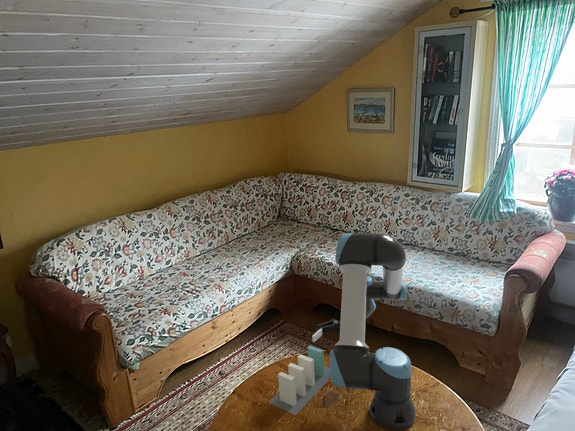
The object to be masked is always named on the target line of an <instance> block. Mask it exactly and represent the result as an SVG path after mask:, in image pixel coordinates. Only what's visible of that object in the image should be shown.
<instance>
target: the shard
mask: <svg viewBox="0 0 575 431" xmlns="http://www.w3.org/2000/svg"><path fill="white" fill-rule="evenodd" d="M342 400H344V398H343V395H342V394H341V393H339V392H338V391H337V390H335V389H334V388H331V389H329V390H328V391H326V392H324V394H323V396H322V408H324V409H329V408H332V407H334V406H335V405H337V404H339V403H340V402H341V401H342Z"/></svg>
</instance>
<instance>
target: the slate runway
mask: <svg viewBox="0 0 575 431" xmlns="http://www.w3.org/2000/svg"><path fill="white" fill-rule="evenodd" d="M330 379H331V373H330V366H329V367H328V366H325V365H324V376H323V377H320V376H318V375H315V385H314V386H313V387H311V386H309V385H306V394H305V395H304V396H301V395H299V394H297V393H296V401H297V404H296V405H295V406H292V405H289V404H287V403H285V402H283V401H281V400H280V392H279V391H278V392H277V393H276V394H275V395H274V396H273V397H272V398H271V399H270V400H269V401H268V403H269V404H271V405H273V406H275V407H277V408H279V409H282V410H284V411H286V412H288V413H289V414H292V415H294V416H296V415H297V414H298V413H299V412H301V410H303V408H304V407H305V406H306V405H307V404H308V403H309V402H310V400H311V399H312V398H313V397H315V395H316V394H317V393H318V392H319V391H320V390H321V389H322V387H324V386H325V384H326V383H327V382H328V381H329V380H330Z"/></svg>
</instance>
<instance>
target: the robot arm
mask: <svg viewBox="0 0 575 431" xmlns="http://www.w3.org/2000/svg"><path fill="white" fill-rule="evenodd" d="M334 257H335V258H334V259H335V264H337V265H339V268H338V269H339V270H340V271H341V273H342V287H341V288H342V289H341V305H340V306H341V308H340V309H341V310H340V320H337V319H336V318H331V319H330V320H328V321H324V322H322V323H319V324H316V325H315V328H316V329H315V331H314V333H313V335H311V341H312V343H315V342H316V341H317V340H319V339H320V338H321V337H322V336H323V334H325V333H330V332H339V340H338V341H337V342H336V343H335V344H334V349H331V350H330V352H329V368H330V373H331V378H330V379H331V382H332V384H333V385H334V386H335V387H339V388H344V389H355V390H364V391H365V390H366V391H374V394H373V397H372V399H371V402H370V404H369V415H370V417H371V419H372V420H373V422H374V423H375V424H376V425H377V426H379V427H381V428H384V429H387V430H391V431H401V430H406V429H409V428H410V427H411V426H412V425H413V424H414V423H415V422H416V414H417V413H416V407H415V404H414V402H413V399H412V396H411V392H412V391H411V390H412V389H411V387H412V373H413V372H412V362H411V359H410V357H409V356H408V355H407V354H406V353H404V352H403V351H402V350H400V349H397V348H395V347H390V346H388V347H387V346H385V347H384V346H383V347H382V348H378V349H377V350H376V351H375V352H374V353H370V347H369V346H368V345H367V343H366V319H369V317H370V316H372V315H373V314H374V311H375V310H376V308H377V305H376V303H375V300H376V299H377V300H389V301H390V300H393V301H404V300H406V299H407V283H405V282H403V270H404V269H403V268H404V266H405V265H406V261H407V260H406V259H407V258H406V257H407V255H406V252H405V249H404V247H403V246H402V245H401V243H400V242H399V241H398V240H396V239H395V238H393V237H392V236H390V235H387V234H385V233H370V232H369V233H364V232H361V233H360V232H358V233H357V232H349V233H348V232H347V233H342V234H341V235H339V237H338V239H337V243H336V248H335V256H334ZM372 266H381V267H382V278H383V279H382V280H383V281H376V280H375V281H373V279H372V277H371V276H369V275H368V274H369V273H370V272H372Z"/></svg>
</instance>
